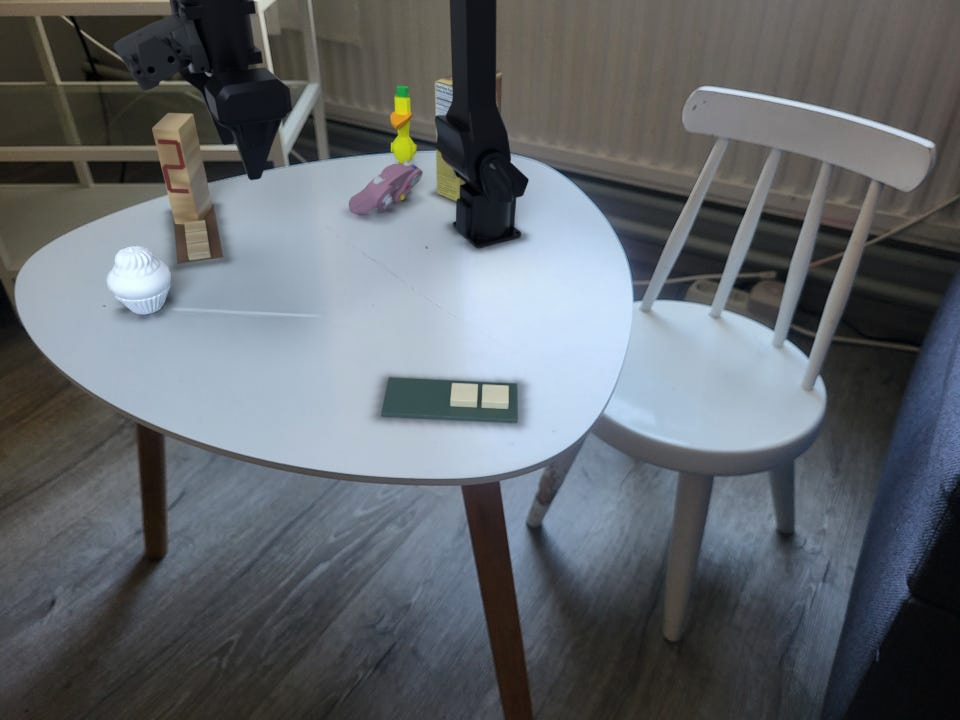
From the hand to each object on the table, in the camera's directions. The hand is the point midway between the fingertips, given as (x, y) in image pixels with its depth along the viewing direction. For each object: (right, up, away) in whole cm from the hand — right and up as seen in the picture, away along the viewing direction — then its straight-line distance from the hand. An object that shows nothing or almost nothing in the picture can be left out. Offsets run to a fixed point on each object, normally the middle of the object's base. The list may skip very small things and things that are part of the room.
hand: (240, 160), depth 72 cm
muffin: (-12, -14, +6) cm, 19 cm away
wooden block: (-13, -1, +21) cm, 24 cm away
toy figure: (+12, +7, +33) cm, 36 cm away
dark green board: (+21, -23, -5) cm, 31 cm away
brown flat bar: (-11, -4, +18) cm, 21 cm away
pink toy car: (+11, +1, +26) cm, 28 cm away
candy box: (+21, +4, +31) cm, 38 cm away
